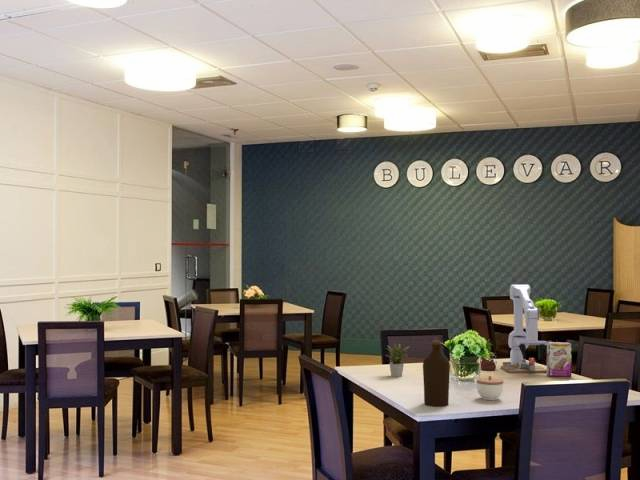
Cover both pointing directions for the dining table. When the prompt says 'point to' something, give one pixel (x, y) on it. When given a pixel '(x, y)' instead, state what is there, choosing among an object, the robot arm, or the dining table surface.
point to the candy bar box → (559, 359)
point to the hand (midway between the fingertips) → (531, 359)
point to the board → (511, 369)
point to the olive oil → (436, 377)
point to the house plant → (396, 361)
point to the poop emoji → (488, 365)
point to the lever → (528, 364)
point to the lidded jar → (489, 388)
